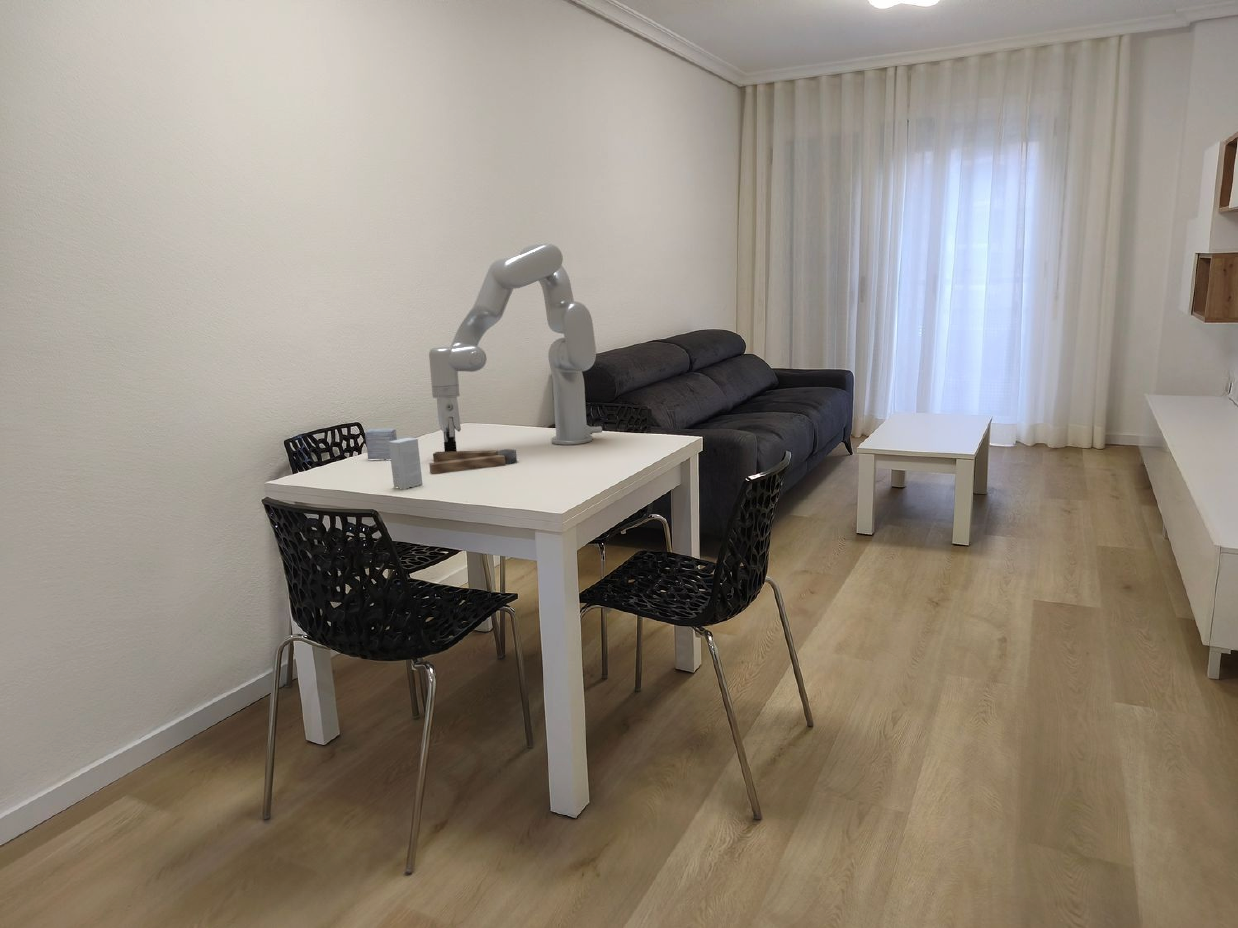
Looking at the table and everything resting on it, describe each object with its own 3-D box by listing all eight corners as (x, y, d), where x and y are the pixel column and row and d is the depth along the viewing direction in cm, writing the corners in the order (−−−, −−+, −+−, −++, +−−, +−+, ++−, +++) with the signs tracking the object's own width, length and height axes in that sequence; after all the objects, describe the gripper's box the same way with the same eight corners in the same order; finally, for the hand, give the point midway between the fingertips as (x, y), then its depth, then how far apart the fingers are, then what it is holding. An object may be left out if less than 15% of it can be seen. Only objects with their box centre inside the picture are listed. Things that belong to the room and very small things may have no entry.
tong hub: (514, 459, 248) (513, 448, 247) (519, 463, 242) (518, 452, 242) (428, 470, 240) (427, 458, 239) (431, 474, 234) (430, 462, 234)
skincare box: (412, 483, 225) (407, 437, 223) (423, 484, 222) (418, 438, 220) (392, 488, 221) (387, 441, 218) (403, 490, 218) (398, 442, 215)
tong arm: (498, 459, 249) (498, 450, 248) (495, 461, 246) (495, 452, 245) (437, 460, 251) (436, 451, 250) (433, 462, 248) (432, 453, 248)
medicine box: (399, 457, 260) (396, 428, 258) (394, 460, 256) (390, 431, 254) (373, 458, 261) (370, 429, 259) (367, 461, 257) (364, 431, 255)
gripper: (463, 393, 243) (468, 458, 246) (454, 387, 256) (459, 449, 260) (436, 395, 240) (441, 461, 244) (428, 389, 254) (434, 452, 258)
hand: (450, 455), depth 252 cm, fingers closed
